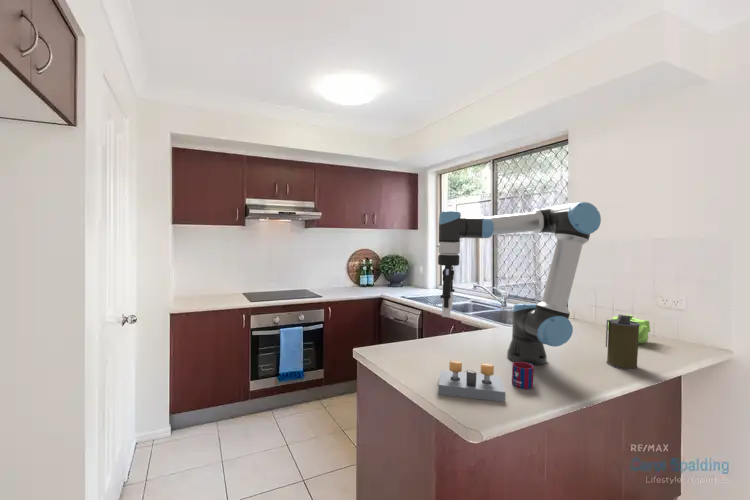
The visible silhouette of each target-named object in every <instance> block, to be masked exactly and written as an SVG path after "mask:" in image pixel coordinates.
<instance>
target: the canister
mask: <svg viewBox="0 0 750 500" xmlns="http://www.w3.org/2000/svg"><path fill="white" fill-rule="evenodd" d="M629 315H630V314H618V316H617V317H618V318H617V319H613V318H612V319H611V318H610V319H611V320H609V319H606V331H605V347H606V348H607V355H606V356H607V358H606V362H605V363H606V364H607V365H608V366H610V365H611V367H613V366H614V367H613V368H616V367H617V369H620V368H622V370H627V369H635V370H637V369H638V368H639V367H638V352H639V343H638V336H639V326H640V324H639V323H637V322H633V321H630V318H632V317H631V316H629ZM608 322H609V331H608Z"/></svg>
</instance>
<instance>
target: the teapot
mask: <svg viewBox="0 0 750 500" xmlns="http://www.w3.org/2000/svg"><path fill="white" fill-rule="evenodd" d="M628 315H629V316H631V317H632V318H630V321H633V322H637V323H639V324H640V326H639V336H638V344H639V343H641V344H646V343H647V342H648V341H649V333H650V332H651V327H650V325H651V324H650V320H647V319H639V318H636V317H633V316H634V315H632V314H628ZM617 318H618V316H613V317H612V319H617ZM608 320H611V318H610V319H609V318H608ZM608 332H609V322H608Z"/></svg>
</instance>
